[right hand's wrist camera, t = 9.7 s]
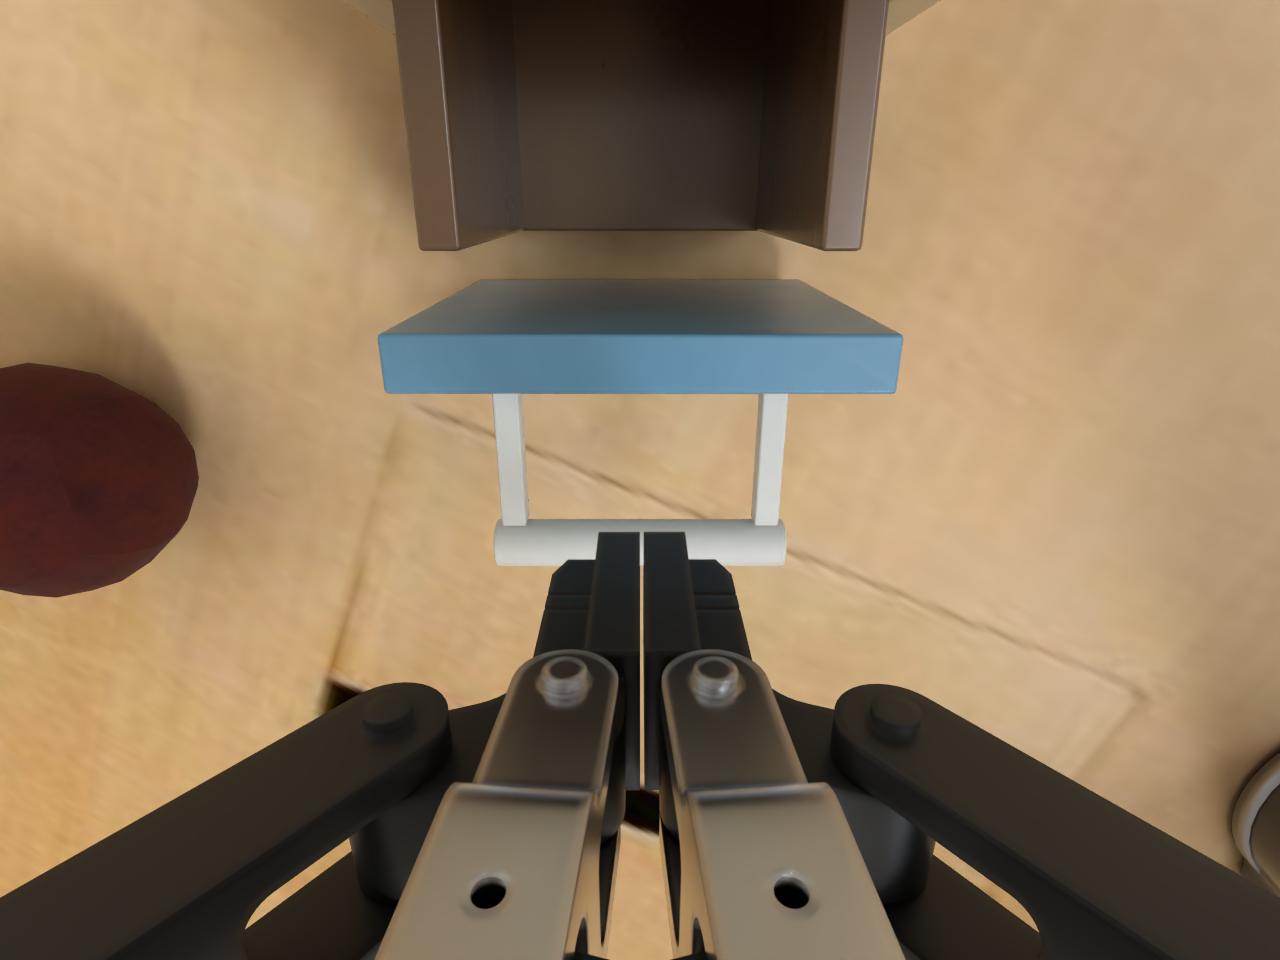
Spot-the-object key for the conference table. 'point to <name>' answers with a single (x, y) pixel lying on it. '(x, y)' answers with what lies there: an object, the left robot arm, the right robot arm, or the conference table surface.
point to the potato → (85, 480)
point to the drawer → (640, 219)
